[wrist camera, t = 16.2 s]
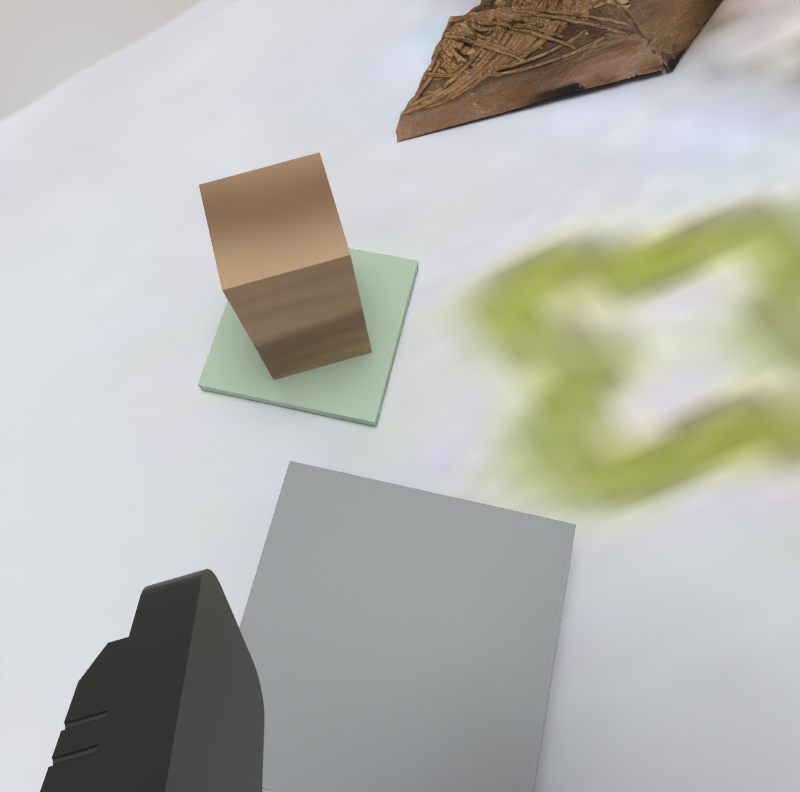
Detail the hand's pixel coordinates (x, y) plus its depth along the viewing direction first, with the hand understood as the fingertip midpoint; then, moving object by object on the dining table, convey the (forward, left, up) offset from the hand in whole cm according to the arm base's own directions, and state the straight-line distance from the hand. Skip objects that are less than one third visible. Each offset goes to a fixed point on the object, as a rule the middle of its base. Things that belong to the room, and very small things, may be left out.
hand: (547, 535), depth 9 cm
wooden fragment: (+1, -35, -25) cm, 43 cm away
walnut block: (+11, -13, -24) cm, 29 cm away
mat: (+11, -13, -25) cm, 30 cm away
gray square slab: (+3, +1, -25) cm, 25 cm away
